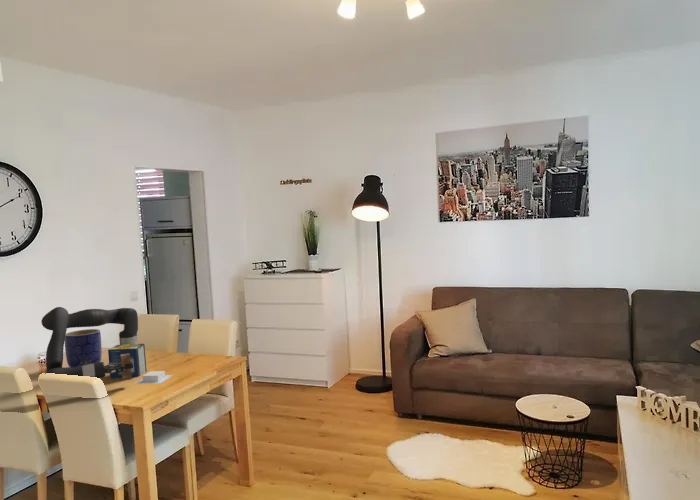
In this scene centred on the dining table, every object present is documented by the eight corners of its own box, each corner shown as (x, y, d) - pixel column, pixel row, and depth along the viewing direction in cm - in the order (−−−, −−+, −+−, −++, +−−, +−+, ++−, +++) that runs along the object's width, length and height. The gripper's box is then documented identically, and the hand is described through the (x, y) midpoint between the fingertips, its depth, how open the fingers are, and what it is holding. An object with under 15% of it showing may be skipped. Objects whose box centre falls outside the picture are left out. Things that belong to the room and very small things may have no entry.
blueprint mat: (134, 384, 258) (134, 383, 258) (147, 376, 272) (147, 375, 272) (161, 383, 257) (161, 383, 257) (173, 375, 271) (173, 374, 271)
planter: (59, 371, 291) (56, 335, 290) (86, 363, 308) (83, 328, 307) (84, 373, 285) (81, 336, 284) (110, 364, 302) (107, 329, 301)
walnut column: (123, 380, 251) (121, 356, 250) (122, 378, 255) (120, 354, 254) (132, 379, 253) (130, 354, 252) (131, 377, 257) (129, 353, 256)
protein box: (119, 373, 282) (116, 344, 281) (147, 371, 281) (144, 343, 281) (109, 378, 272) (107, 349, 271) (138, 377, 271) (136, 348, 270)
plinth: (142, 381, 261) (142, 375, 261) (150, 377, 269) (149, 371, 269) (158, 381, 260) (157, 375, 260) (165, 376, 268) (164, 371, 268)
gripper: (93, 367, 240) (133, 360, 248) (91, 360, 252) (129, 354, 261) (95, 383, 240) (135, 375, 249) (93, 375, 253) (131, 368, 261)
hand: (132, 364), depth 255 cm, fingers closed on walnut column, 4 cm apart
